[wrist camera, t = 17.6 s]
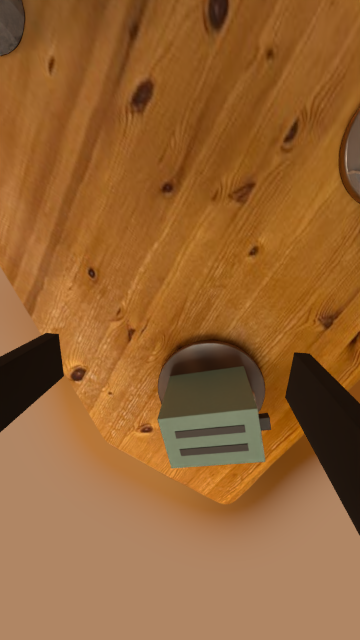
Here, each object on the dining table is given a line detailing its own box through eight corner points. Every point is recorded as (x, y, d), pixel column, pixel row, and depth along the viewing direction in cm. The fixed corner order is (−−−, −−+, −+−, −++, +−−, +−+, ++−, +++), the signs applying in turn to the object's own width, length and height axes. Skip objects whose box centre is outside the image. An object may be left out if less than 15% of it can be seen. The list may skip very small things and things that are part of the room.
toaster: (171, 434, 46) (159, 497, 34) (148, 349, 41) (125, 388, 29) (269, 425, 43) (292, 491, 31) (256, 331, 38) (279, 368, 26)
